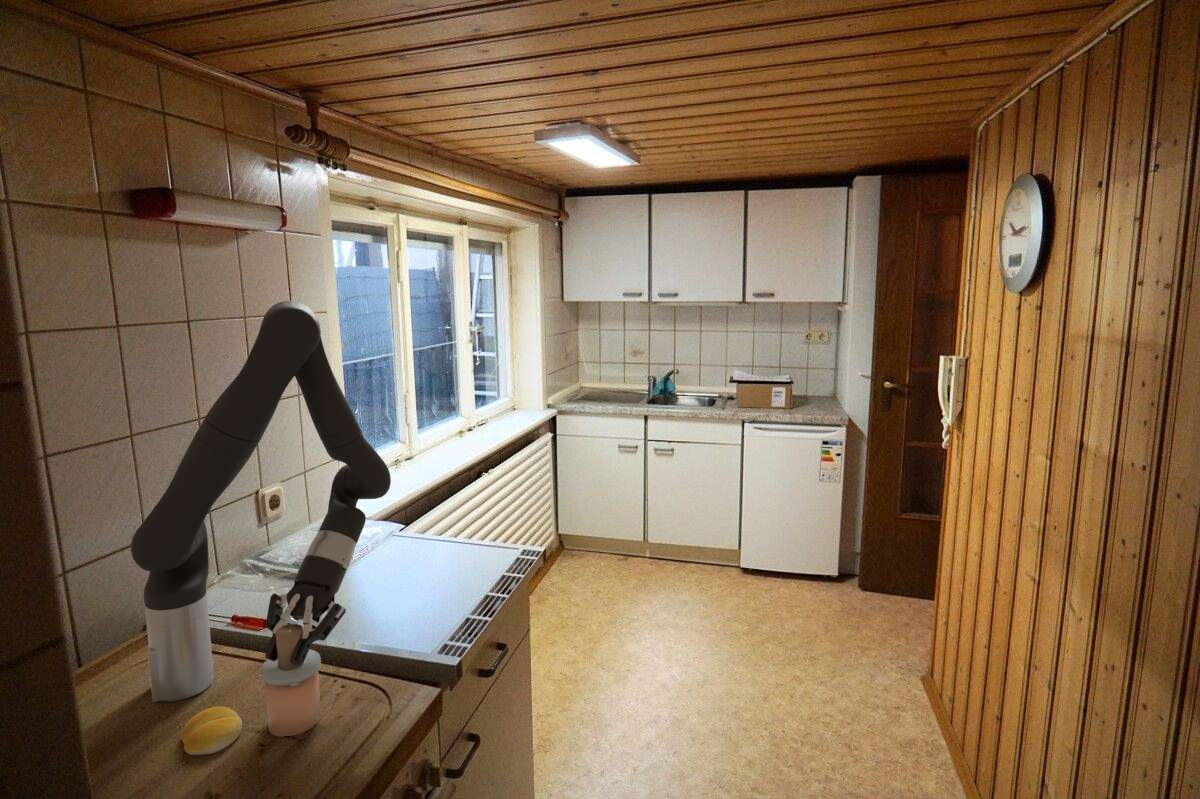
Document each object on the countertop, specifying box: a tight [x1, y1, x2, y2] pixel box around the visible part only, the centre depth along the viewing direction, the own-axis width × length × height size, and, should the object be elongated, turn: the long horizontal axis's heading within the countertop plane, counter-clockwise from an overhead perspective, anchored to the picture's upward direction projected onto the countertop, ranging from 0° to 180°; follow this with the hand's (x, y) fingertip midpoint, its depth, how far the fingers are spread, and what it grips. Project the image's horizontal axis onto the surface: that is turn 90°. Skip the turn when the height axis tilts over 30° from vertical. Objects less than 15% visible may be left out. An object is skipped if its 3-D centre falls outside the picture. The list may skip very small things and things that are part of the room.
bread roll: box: [180, 705, 243, 756], centre depth 103 cm, size 8×9×4 cm
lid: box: [260, 623, 322, 687], centre depth 105 cm, size 9×9×8 cm
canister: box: [264, 670, 321, 738], centre depth 107 cm, size 8×8×9 cm
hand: (282, 661), depth 103 cm, fingers closed on lid, 4 cm apart
